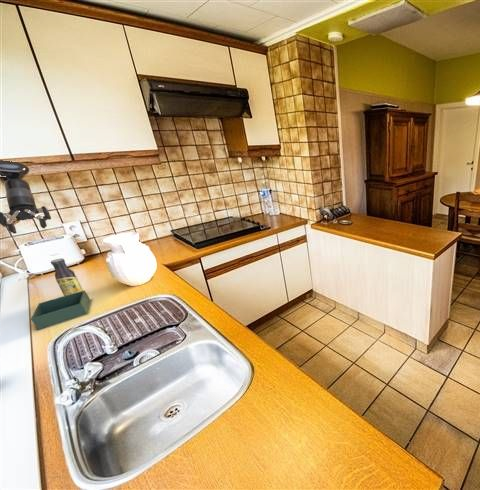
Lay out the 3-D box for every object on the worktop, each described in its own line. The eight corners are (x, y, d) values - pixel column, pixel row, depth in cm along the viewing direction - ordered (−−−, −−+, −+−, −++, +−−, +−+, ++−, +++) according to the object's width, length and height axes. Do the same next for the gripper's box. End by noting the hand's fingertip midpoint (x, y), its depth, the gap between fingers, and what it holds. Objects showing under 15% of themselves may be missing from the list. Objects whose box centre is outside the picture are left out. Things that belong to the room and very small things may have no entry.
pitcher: (165, 279, 138) (147, 235, 128) (120, 295, 126) (95, 247, 116) (157, 268, 150) (140, 227, 140) (115, 282, 138) (93, 238, 128)
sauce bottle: (64, 302, 122) (41, 265, 114) (70, 296, 127) (48, 259, 119) (83, 298, 125) (61, 261, 117) (88, 292, 130) (68, 256, 122)
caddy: (38, 329, 105) (30, 319, 103) (45, 313, 115) (38, 303, 113) (87, 313, 113) (81, 303, 111) (90, 300, 123) (84, 290, 121)
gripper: (-10, 198, 112) (-3, 230, 109) (39, 192, 120) (48, 221, 117) (2, 208, 118) (9, 238, 114) (48, 201, 126) (56, 229, 123)
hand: (28, 229), depth 116 cm, fingers open, 8 cm apart
